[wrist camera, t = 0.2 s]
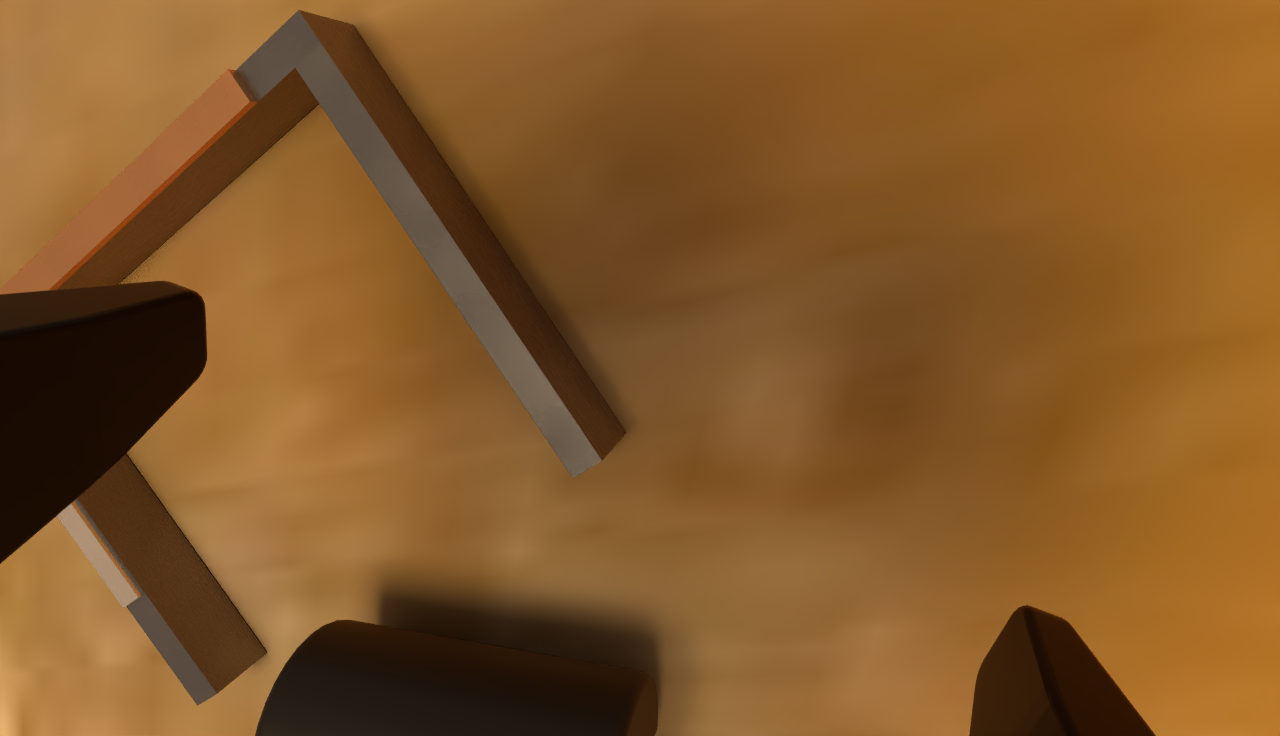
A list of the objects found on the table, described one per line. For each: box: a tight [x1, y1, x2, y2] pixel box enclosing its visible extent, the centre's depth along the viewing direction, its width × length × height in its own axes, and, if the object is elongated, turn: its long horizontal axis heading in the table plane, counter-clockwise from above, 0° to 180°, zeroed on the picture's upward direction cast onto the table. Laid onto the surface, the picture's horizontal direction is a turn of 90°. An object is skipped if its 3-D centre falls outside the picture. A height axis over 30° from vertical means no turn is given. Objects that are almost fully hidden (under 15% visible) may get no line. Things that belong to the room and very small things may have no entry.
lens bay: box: [0, 10, 626, 705], centre depth 26 cm, size 17×14×3 cm
